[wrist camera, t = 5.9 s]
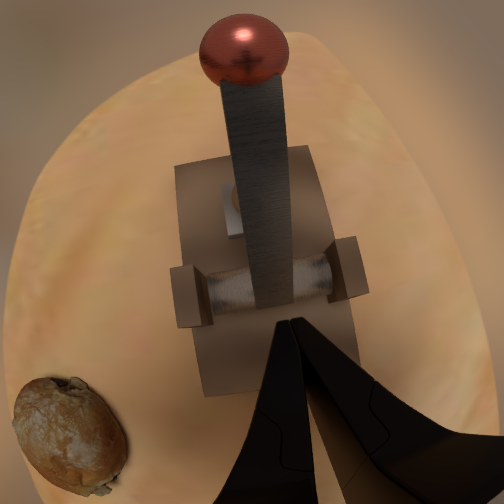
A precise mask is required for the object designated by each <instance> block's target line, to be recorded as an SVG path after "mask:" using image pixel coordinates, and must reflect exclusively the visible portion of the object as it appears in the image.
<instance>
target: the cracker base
mask: <svg viewBox="0 0 504 504" xmlns="http://www.w3.org/2000/svg"><path fill="white" fill-rule="evenodd" d="M287 150H288V165H289V181H290V200H291V222H292V249H293V259H294V258H300V257H305V256H311V255H316V254H322V253H323V254H325V256H326V257H327V259H328V262H329V265H330V268H331V273H332V281H333V288H332V293H331V294H330V295H325V296H321V297H316V298H311V299H306V300H301V301H296V302H294V303H293V304H288V305H282V306H277V307H272V308H266V309H261V310H256V309H253V310H247V311H241V312H235V313H229V314H223V315H216V316H215V315H214V313H213V310H212V307H211V303H210V298H209V292H208V283H207V275H208V273H214V272H220V271H225V270H231V269H237V268H243V267H249V265H248V258H247V252H246V246H245V240H244V234H243V228H242V222H241V216H240V210H239V204H238V198H237V192H236V185H235V179H234V173H233V167H232V161H231V155H229V156H224V157H218V158H212V159H207V160H202V161H197V162H192V163H187V164H182V165H178V166H174V168H175V184H176V198H177V210H178V222H179V232H180V242H181V251H182V260H183V266H180V267H174V268H170V275H171V284H172V292H173V300H174V307H175V314H176V321H177V327H178V328H192V332H193V338H194V344H195V350H196V356H197V361H198V367H199V372H200V377H201V382H202V387H203V392H204V397H210V396H219V395H227V394H235V393H242V392H249V391H255V390H260V387H261V383H262V379H263V375H264V371H265V367H266V363H267V359H268V355H269V351H270V346H271V342H272V338H273V334H274V329H275V325H276V322H277V321H281V320H286V319H288V320H290V319H292V318H296V317H304V318H305V319H306V320H307V321H308V322H310V323H311V324H312V325H313V326H314V327H315V328H316V329H318V330H319V331H320V332H321V333H322V334H323V335H324V336H326V337H327V338H328V339H329V340H330V341H331V342H332V343H334V344H335V345H336V346H337V347H338V348H339V349H340V350H342V351H343V352H344V353H345V354H346V355H347V356H348V357H350V358H351V359H352V360H353V361H354V362H355V363H357V364H358V365H359V366H360V367H361V365H360V358H359V352H358V345H357V340H356V334H355V328H354V323H353V317H352V312H351V307H350V302H349V299H350V298H354V297H357V296H360V295H363V294H367V293H369V288H368V284H367V279H366V275H365V270H364V266H363V262H362V258H361V254H360V250H359V246H358V242H357V238H356V236H353V237H347V238H341V239H336V240H335V236H334V232H333V228H332V225H331V221H330V217H329V214H328V210H327V206H326V203H325V199H324V196H323V192H322V189H321V186H320V182H319V179H318V176H317V172H316V169H315V166H314V163H313V160H312V157H311V153H310V150H309V147H308V145H303V146H294V147H287Z"/></svg>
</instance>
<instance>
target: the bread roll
mask: <svg viewBox="0 0 504 504" xmlns="http://www.w3.org/2000/svg"><path fill="white" fill-rule="evenodd" d="M12 424H13V427H14V430H15V433H16V435H17V437H18V442H19V445H20V447H21V449H22V451H23V453H24V454H25V456H26V458H27V459H28V461H29V462H30V463H31V464H32V466H33V467H34V468H35V469H36V470H37V471H38V472H39V473H40V474H41V475H42V476H43V477H44V478H45V479H47V480H48V481H49V482H51V483H52V484H54V485H56V486H57V487H60V488H62V489H64V490H66V491H70V492H72V493H75V494H78V495H82V496H84V497H88V496H89V495H90V494H92V493H93V494H95V495H97V496H104V495H106V494H110V492H111V491H112V489H110V488H109V486H106V483H107V482H108V481H110V480H111V481H113V480H116V479H117V474H119V473H120V471H121V470H122V468H123V466H124V462H125V459H126V458H127V457H126V444H125V437H124V435H123V434H122V432H121V429H120V427H119V425H118V422H117V421H116V420H115V418H114V417H113V416H112V414H111V412H110V410H109V409H108V407H107V406H106V405H105V403H104V402H103V401H102V399H101V398H99V397H98V396H97V395H96V394H94V393H93V392H91V391H89V390H88V387H87V384H86V383H85V382H83V381H82V380H80V379H78V378H75V377H71V381H68V380H63V379H56V378H55V379H54V378H49V377H46V378H38V379H35V380H32V381H30V382H29V383H27V384H26V385H25V386H24V387H23V388H22V389H21V391H20V392H19V394H18V397H17V399H16V402H15V405H14V419H13V422H12Z"/></svg>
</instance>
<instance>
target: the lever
mask: <svg viewBox="0 0 504 504" xmlns="http://www.w3.org/2000/svg"><path fill="white" fill-rule="evenodd" d="M199 60H200V64H201V67H202V69H203V71H204V73H205V74H206V76H207V77H208V78H209V79H210V80H211V81H212V82H213V83H214V84H216V85H217V86H219V87H220V92H221V98H222V104H223V111H224V117H225V123H226V130H227V136H228V142H229V148H230V155H231V161H232V167H233V173H234V179H235V185H236V192H237V198H238V204H239V210H240V216H241V222H242V228H243V234H244V240H245V246H246V252H247V258H248V265H249V267H243V268H237V269H231V270H225V271H220V272H214V273H208V275H207V283H208V292H209V298H210V303H211V307H212V310H213V313H214V315H215V316H216V315H223V314H229V313H235V312H241V311H247V310H253V309H256V310H261V309H266V308H272V307H277V306H282V305H288V304H293V303H294V302H296V301H301V300H306V299H311V298H316V297H321V296H325V295H330V294H331V293H332V288H333V281H332V273H331V268H330V265H329V262H328V259H327V257H326V256H325V254H323V253H322V254H316V255H311V256H305V257H300V258H294V259H293V249H292V222H291V200H290V181H289V165H288V150H287V136H286V123H285V111H284V99H283V89H282V78H281V75H282V74H283V72H284V71H285V69H286V66H287V64H288V60H289V47H288V43H287V40H286V38H285V36H284V34H283V32H282V31H281V30H280V29H279V28H278V27H277V26H276V25H275V24H274V23H273V22H271V21H269V20H268V19H266V18H264V17H261V16H257V15H253V14H236V15H231V16H228V17H226V18H223V19H221V20H219V21H218V22H217V23H215V24H214V25H212V26H211V27H210V28H209V29H208V31H207V32H206V33H205V35H204V37H203V39H202V41H201V44H200V49H199Z"/></svg>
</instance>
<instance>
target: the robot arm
mask: <svg viewBox="0 0 504 504" xmlns="http://www.w3.org/2000/svg"><path fill="white" fill-rule="evenodd" d="M306 398H307V399H306ZM307 401H308V403H309V406H310V409H311V411H312V414H313V417H314V419H315V422H316V425H317V427H318V430H319V433H320V435H321V438H322V440H323V443H324V446H325V448H326V451H327V454H328V456H329V459H330V462H331V464H332V467H333V470H334V472H335V475H336V478H337V480H338V483H339V486H340V488H341V490H342V494H343V496H344V499H345V502H346V504H504V436H491V435H477V434H466V433H459V432H454V431H451V430H449V429H446V428H444V427H442V426H441V425H439V424H437V423H436V422H434V421H432V420H431V419H429V418H428V417H426V416H424V415H423V414H421V413H420V412H418V411H417V410H415V409H413V408H412V407H410V406H409V405H407V404H406V403H404V402H403V401H401V400H400V399H399V398H397V397H396V396H395V395H393V394H392V393H391V392H390V391H388V390H387V389H386V388H385V387H383V386H382V385H381V384H380V383H379V382H378V381H376V380H375V381H374V378H373V377H372V376H370V375H369V374H368V373H367V372H366V371H365V370H363V369H362V368H361V367H360V366H359V365H358V364H357V363H355V362H354V361H353V360H352V359H351V358H350V357H348V356H347V355H346V354H345V353H344V352H343V351H342V350H340V349H339V348H338V347H337V346H336V345H335V344H334V343H332V342H331V341H330V340H329V339H328V338H327V337H326V336H324V335H323V334H322V333H321V332H320V331H319V330H318V329H316V328H315V327H314V326H313V325H312V324H311V323H310V322H308V321H307V320H306V319H305V318H304V317H296V318H292V319H290V320H288V319H286V320H281V321H277V322H276V325H275V329H274V334H273V338H272V342H271V346H270V351H269V355H268V359H267V363H266V367H265V371H264V375H263V379H262V383H261V387H260V391H259V395H258V399H257V403H256V407H255V410H254V414H253V418H252V421H251V424H250V428H249V431H248V434H247V437H246V439H245V442H244V444H243V447H242V449H241V451H240V453H239V456H238V458H237V460H236V462H235V464H234V466H233V468H232V470H231V472H230V474H229V476H228V478H227V481H226V483H225V485H224V486H223V488H222V490H221V492H220V493H219V495H218V497H217V498H216V500H215V501H214V502H213V504H318V498H317V492H316V483H315V474H314V463H313V453H312V443H311V433H310V424H309V415H308V407H307Z"/></svg>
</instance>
